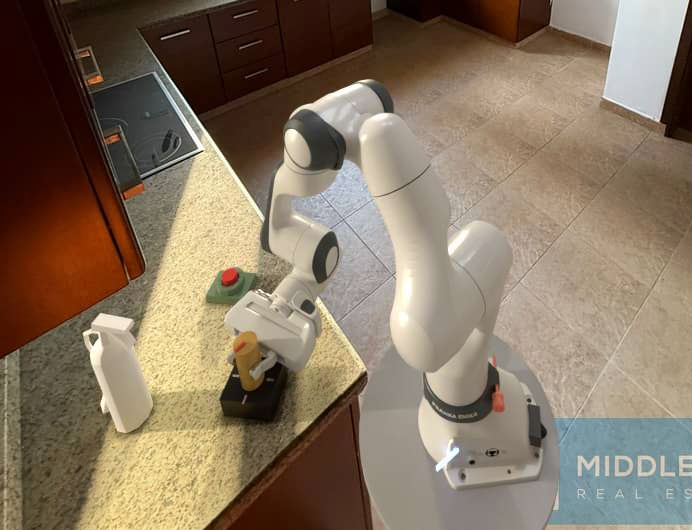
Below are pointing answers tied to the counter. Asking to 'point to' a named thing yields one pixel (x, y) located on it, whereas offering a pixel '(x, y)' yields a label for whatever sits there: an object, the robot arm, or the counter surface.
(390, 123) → the robot arm
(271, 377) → the black block
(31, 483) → the counter surface
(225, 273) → the button
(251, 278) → the button box
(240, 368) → the yellow cylinder
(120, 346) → the white plastic jug
